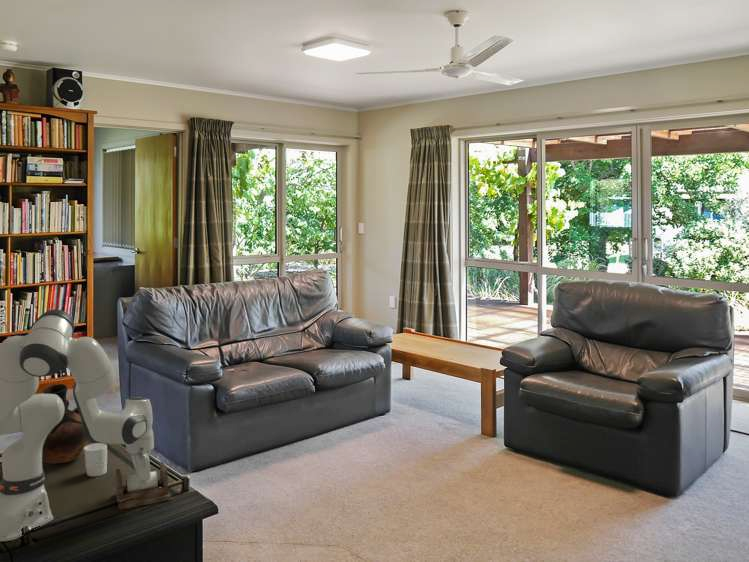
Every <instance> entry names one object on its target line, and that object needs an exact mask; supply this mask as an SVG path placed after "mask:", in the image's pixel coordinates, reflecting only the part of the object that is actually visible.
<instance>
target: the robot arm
mask: <svg viewBox="0 0 749 562" xmlns="http://www.w3.org/2000/svg"><path fill="white" fill-rule="evenodd" d="M29 329H30V330H29V332H28V333H27V334H26V335H14V336H9V337H7V338H6V339H4V340H3V341H2V342H1V344H0V436H4V435H5V436H6V435H11V434H17V433H22V435H21V436H20V438H18V440H16V441H14V442H12V443H10V444H9V445H8V446H7V447H6V448H5V449H4V450H3V452H2V454H1V466H2V467H1V468H2V476H1V480H0V542H8V541H15V540H17V539H18V538H21V537H23V535H22V531H21V529H22V528H23V527H25V526H28V527H31V528H35V527H38V526H40V527H43V526H44V525H46V524H48V523H49V522H51V521H53V520H54V516H53V514H52V511H51V507H50V502H49V497H48V493H47V491H46V488H45V482H46V480H45V479H46V476H45V471H44V470H43V460H42V449H43V444H44V441H45V439H46V437H47V435H48V434H49V432H50V431H51V430H52V429H53V428H54V427H55V426H56V425H57V424H58V423H59V422H60V421H61V420H62V418H63V416H64V411H65V407H64V403H63V401H62V400H61V398H60V397H59V396H58V395H56V394H44V393H37V391H38V389H39V385H40V382H39V380H40V377H41V378H43V377H50V376H53V375H55V374H56V375H59V374H61V373H63V372H64V371H66V369H68V370H69V372H70V373H71V375H72V377H73V379H74V381H75V382H74V383H73V385H72V394H73V399H74V402H75V405H76V407H77V409H78V411H79V414H80V417H81V420H82V424H83V433H84V435H85V437H86V439H87V440H88V441H89V442H88V443H90V444H95V443H104V444H112V445H114V444H115V445H125V450H126V451H125V452H126V453H128V454H129V455H130V457H131V460H132V464H133V466H134V470H135V472H136V474H137V476H138V479H139V481H140V488H141V489H143V488H146V480H149V479H150V476H151V475H150V472H151V464H150V463H151V462H150V456H149V455H150V454H151V451H152V450H154V448H155V436H154V430H153V421H154V420H153V418H154V417H153V407H152V404H151V400H150V398H148V397H145V396H130V397H127V398H126V399H125V405H124V408H123V409H122V411H121V412H120V413H119V412H109V411H108V412H107V411H104V410H101V409H100V408H99V407H98V402H97V400H96V399H98V398H100V397H102V396H104V395H106V394H107V393H108V392H110V390H111V389H112V388H113V386H114V384H115V382H116V379H117V378H116V377H117V375H116V374H117V373H116V371H115V368H114V366H113V364H112V361H111V360H110V358H109V356H108V355H107V353H106V351H105V350H104V348H103V347H102V346H101V344H100V343H99V342H98V341H97V340H96V339H95V338H93V337H92V336H91V337H90V336H80V337H77V338H75V337H73V336H74V332H75V321H74V319H73V317H72V316H71V315H70V314H69V313H68V312H66V311H64V310H61V309H49V310H47V311H45V312H43V313H42V314H41V315H39V317H37V319H36V320H35V321H34V322H33V323H32V324H31V326H30V327H29ZM38 528H39V527H38Z"/></svg>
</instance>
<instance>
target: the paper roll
mask: <svg viewBox="0 0 749 562" xmlns="http://www.w3.org/2000/svg"><path fill="white" fill-rule="evenodd" d="M150 475H151V476H150V479H149V480H146V488H143V489H141V488H140V481H139V479H138V476H137V473H136V474H131V475H129V474H128V475H126V476H125V485H126V488H127V493H130V492H136V491H142V490H148V489H153V488H158V473H157V471H156V470H155V471H150Z"/></svg>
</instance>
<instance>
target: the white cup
mask: <svg viewBox="0 0 749 562" xmlns="http://www.w3.org/2000/svg"><path fill="white" fill-rule="evenodd" d="M107 444H108V443H90V444H87V446H86V447H84V451H83V455H84V463H85V469H86V475H87V476H89V477H100V476H104V475H105V474H106V473H107V472H108V466H107V465H108V445H107Z"/></svg>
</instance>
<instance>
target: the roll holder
mask: <svg viewBox="0 0 749 562" xmlns="http://www.w3.org/2000/svg"><path fill="white" fill-rule="evenodd" d="M157 479H158V478H157ZM168 482H169V481H168V469H167V468H166V465H165V463H164V461H159V479H158V488H157V489H156V488H153V489H148V490H142V491H136V492H130V493H127V488H126V484H123V477H122V474H121V470H120V468H116V469H115V483H116V485H115V487H116V490H115V491H114V492H115V497H116V501H117V500H119V501H120V500H123V499H128V498H134V499H133V500H129V501H126V502H124V503H121V504H119V505H118V504H117V507H118V506H119V507H118V509H120V510H126V509H129V508H135V507H141V506H146V505H151V504H152V505H153V504H157V502H158V503H162V502H167V500H168V501H171V495H170V494H171V493H170V492H169V485H168V484H169V483H168ZM159 487H162V488H159ZM125 508H126V509H125Z"/></svg>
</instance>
